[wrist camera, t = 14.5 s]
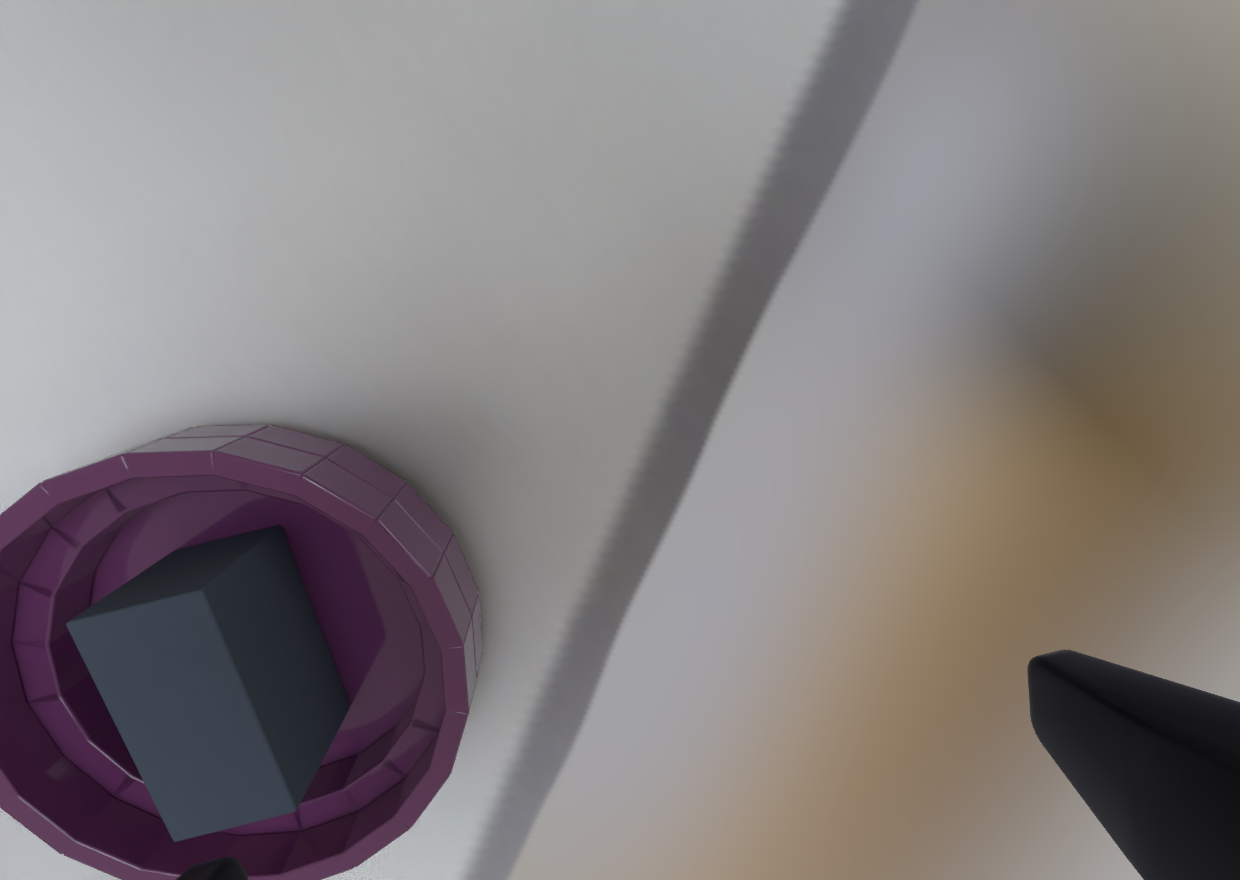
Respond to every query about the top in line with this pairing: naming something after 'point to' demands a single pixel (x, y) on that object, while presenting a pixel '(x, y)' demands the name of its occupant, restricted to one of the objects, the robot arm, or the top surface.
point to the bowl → (343, 604)
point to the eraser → (217, 681)
